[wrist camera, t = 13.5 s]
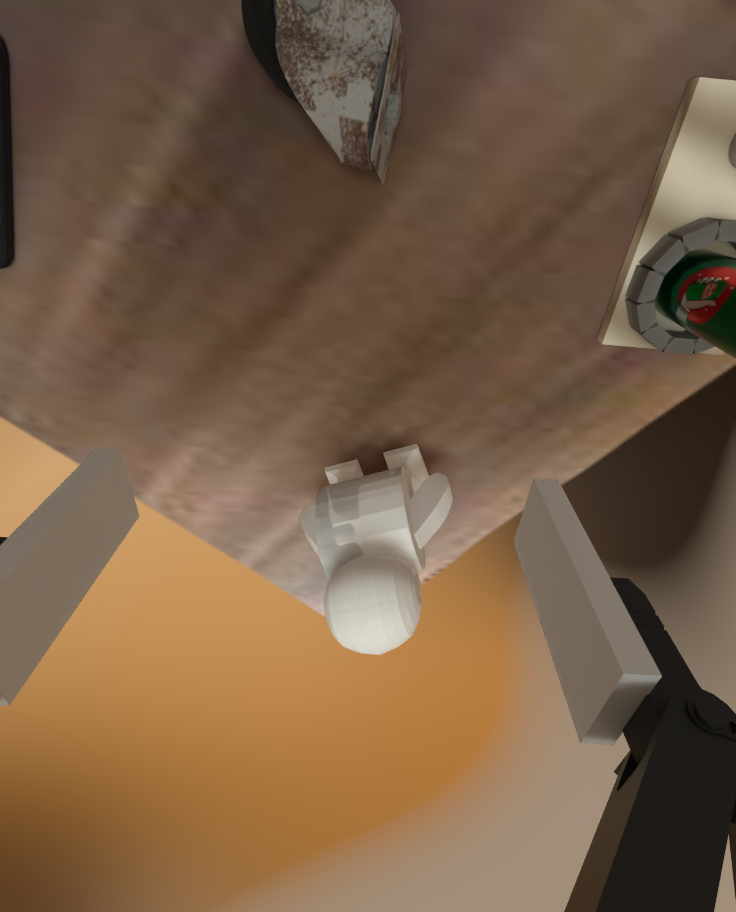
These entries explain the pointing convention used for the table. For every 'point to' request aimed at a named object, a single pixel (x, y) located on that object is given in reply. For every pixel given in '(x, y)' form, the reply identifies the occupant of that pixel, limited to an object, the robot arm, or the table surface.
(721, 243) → the socket board
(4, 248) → the handheld game console
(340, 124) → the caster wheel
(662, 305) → the soda can
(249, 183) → the table surface
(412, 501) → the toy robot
